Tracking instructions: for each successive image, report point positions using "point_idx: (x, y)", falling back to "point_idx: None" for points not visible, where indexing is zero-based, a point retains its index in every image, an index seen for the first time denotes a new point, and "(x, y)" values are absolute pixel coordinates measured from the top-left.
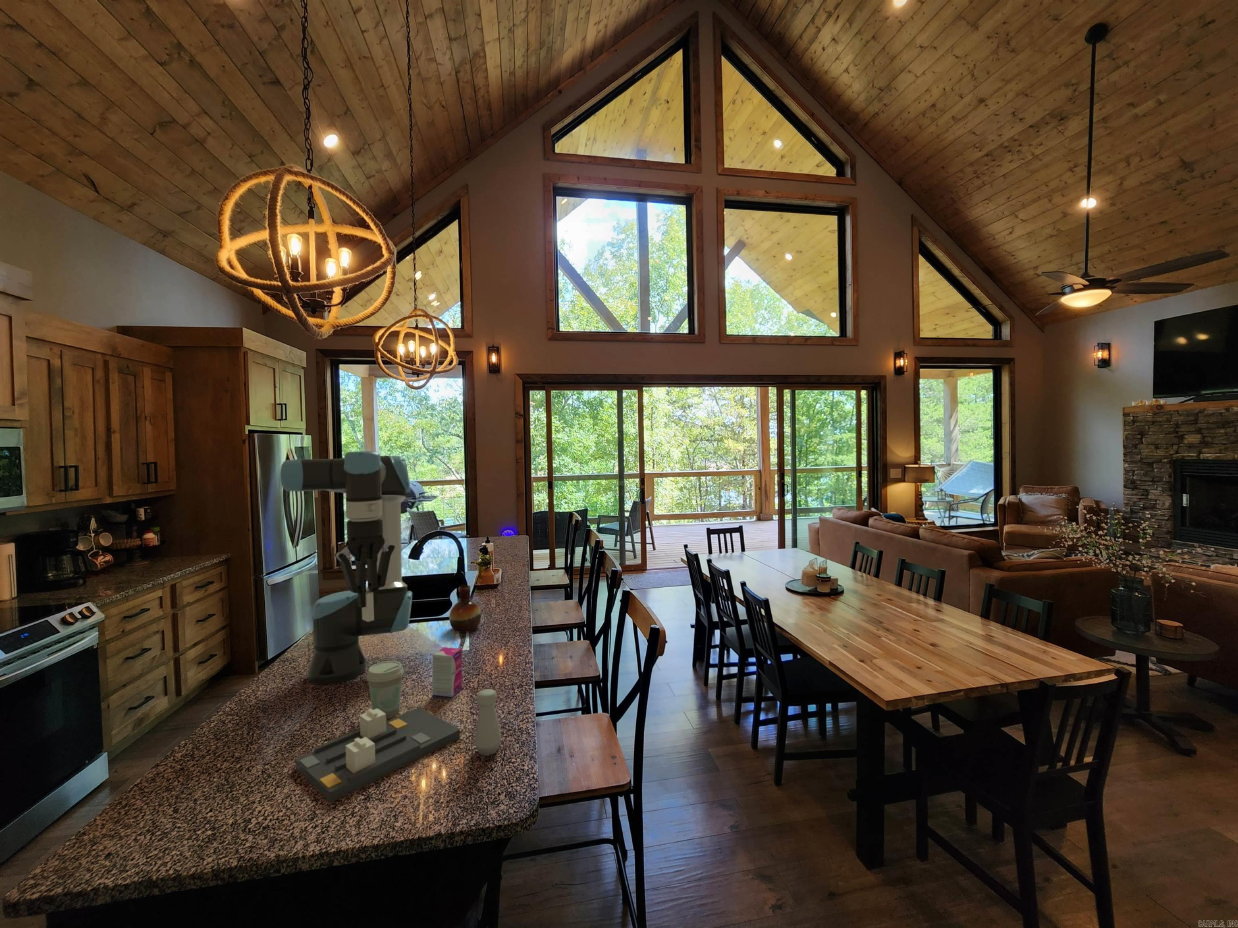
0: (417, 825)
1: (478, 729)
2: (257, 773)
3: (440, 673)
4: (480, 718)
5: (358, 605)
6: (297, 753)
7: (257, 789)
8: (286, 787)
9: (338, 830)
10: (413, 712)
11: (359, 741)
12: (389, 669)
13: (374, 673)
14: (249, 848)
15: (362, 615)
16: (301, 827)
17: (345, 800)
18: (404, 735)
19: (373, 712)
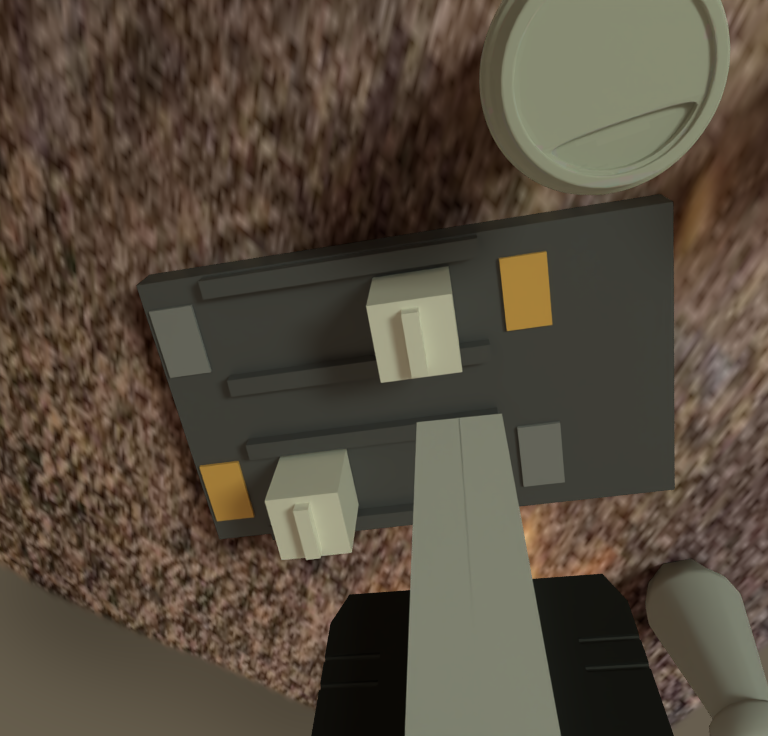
0: None
1: (672, 650)
2: (30, 213)
3: None
4: (692, 684)
5: (339, 616)
6: (159, 163)
7: (40, 318)
8: (122, 368)
9: (229, 622)
10: (623, 233)
11: (304, 535)
12: (621, 122)
13: (513, 139)
14: (48, 556)
15: (417, 456)
16: (155, 562)
17: (263, 535)
18: None
19: (414, 356)
